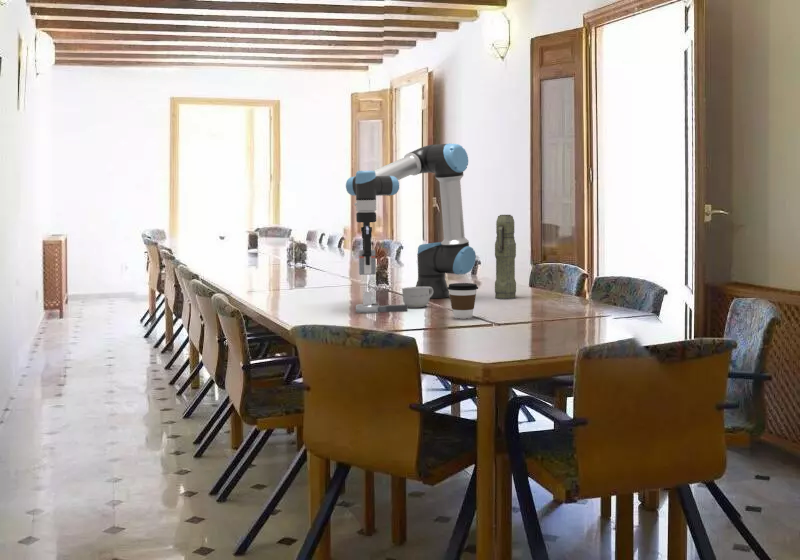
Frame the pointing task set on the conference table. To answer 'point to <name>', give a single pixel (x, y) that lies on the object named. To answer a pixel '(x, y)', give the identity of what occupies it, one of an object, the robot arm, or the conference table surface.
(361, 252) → the red-striped grey block
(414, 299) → the teacup
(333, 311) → the conference table surface
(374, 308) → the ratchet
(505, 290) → the thermos
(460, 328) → the conference table surface
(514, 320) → the conference table surface
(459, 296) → the coffee cup
